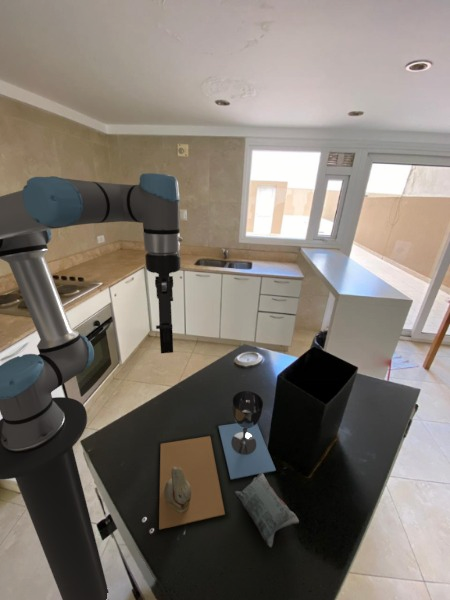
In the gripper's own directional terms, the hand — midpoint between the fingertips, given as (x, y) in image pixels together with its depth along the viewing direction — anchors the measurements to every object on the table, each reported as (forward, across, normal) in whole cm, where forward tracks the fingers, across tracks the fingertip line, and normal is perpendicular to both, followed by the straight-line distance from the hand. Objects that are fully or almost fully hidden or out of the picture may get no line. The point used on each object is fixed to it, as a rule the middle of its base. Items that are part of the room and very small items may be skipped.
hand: (166, 337), depth 63 cm
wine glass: (+32, -8, -20) cm, 38 cm away
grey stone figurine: (+32, -19, -1) cm, 37 cm away
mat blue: (+32, -9, -20) cm, 39 cm away
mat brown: (+32, -14, -4) cm, 35 cm away
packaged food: (+32, -25, -20) cm, 45 cm away
